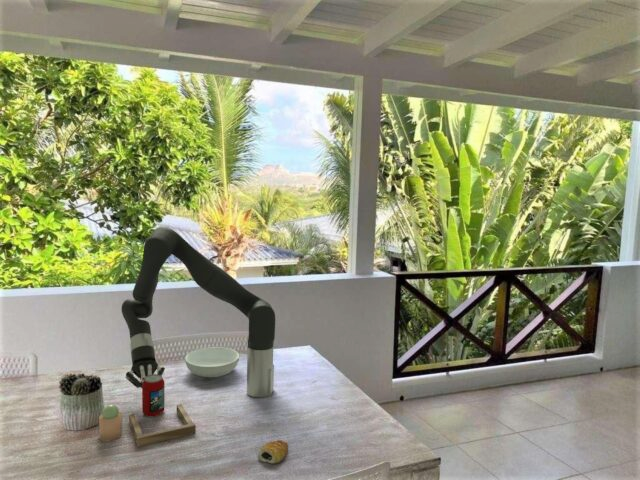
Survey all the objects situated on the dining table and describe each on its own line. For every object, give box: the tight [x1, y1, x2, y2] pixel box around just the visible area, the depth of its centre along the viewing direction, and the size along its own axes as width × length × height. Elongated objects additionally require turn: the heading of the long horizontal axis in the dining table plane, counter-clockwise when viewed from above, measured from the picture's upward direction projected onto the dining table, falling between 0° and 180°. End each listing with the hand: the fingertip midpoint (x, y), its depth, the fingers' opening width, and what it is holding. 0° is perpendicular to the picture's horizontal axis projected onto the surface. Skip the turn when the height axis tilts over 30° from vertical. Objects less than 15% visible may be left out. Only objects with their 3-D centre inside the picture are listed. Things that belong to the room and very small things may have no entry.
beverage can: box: [141, 373, 166, 418], centre depth 150 cm, size 7×7×12 cm
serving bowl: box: [184, 346, 240, 378], centre depth 185 cm, size 21×21×7 cm
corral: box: [128, 403, 196, 448], centre depth 142 cm, size 16×16×2 cm
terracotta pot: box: [98, 404, 123, 442], centre depth 136 cm, size 6×6×9 cm
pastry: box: [257, 439, 289, 465], centre depth 130 cm, size 9×7×4 cm
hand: (148, 397), depth 152 cm, fingers closed
